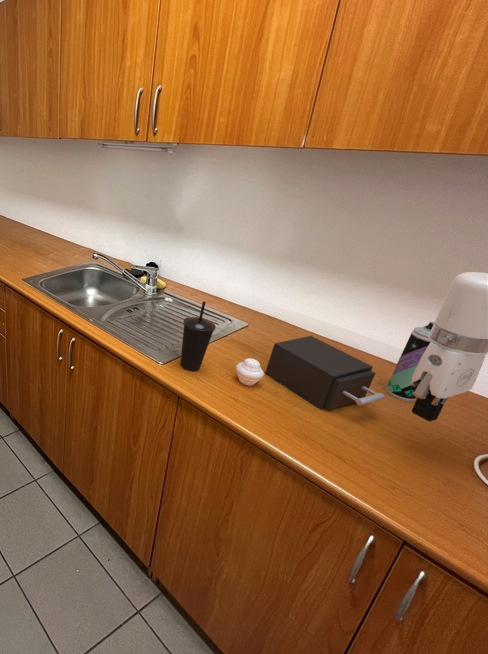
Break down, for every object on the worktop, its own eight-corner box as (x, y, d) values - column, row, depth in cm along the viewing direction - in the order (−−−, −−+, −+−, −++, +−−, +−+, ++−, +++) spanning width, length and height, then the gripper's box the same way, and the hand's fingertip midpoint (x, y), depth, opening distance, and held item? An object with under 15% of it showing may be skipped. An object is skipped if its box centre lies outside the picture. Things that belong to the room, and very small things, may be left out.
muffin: (227, 376, 105) (233, 354, 103) (247, 373, 106) (253, 351, 104) (245, 391, 100) (252, 368, 97) (266, 387, 101) (273, 364, 98)
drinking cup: (175, 371, 108) (189, 306, 100) (174, 356, 114) (186, 294, 106) (207, 377, 105) (223, 310, 97) (203, 361, 112) (218, 297, 104)
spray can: (385, 384, 101) (417, 315, 94) (415, 393, 98) (451, 323, 90) (385, 394, 98) (418, 323, 90) (416, 404, 94) (453, 332, 86)
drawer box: (358, 399, 96) (373, 366, 93) (320, 409, 93) (333, 376, 90) (300, 365, 109) (310, 335, 106) (264, 373, 106) (274, 343, 102)
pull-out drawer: (384, 411, 91) (397, 383, 88) (348, 421, 88) (360, 393, 85) (307, 367, 107) (316, 343, 104) (275, 375, 104) (283, 350, 101)
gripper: (460, 355, 68) (421, 437, 75) (515, 340, 72) (472, 420, 79) (407, 335, 75) (375, 412, 82) (459, 322, 79) (425, 397, 85)
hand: (423, 416), depth 80 cm, fingers closed
